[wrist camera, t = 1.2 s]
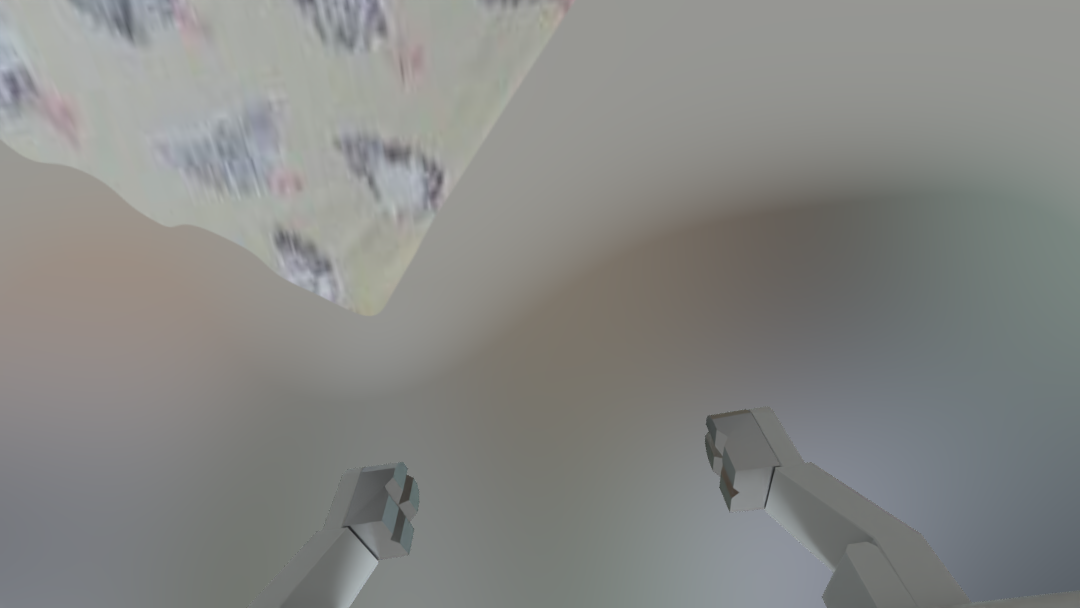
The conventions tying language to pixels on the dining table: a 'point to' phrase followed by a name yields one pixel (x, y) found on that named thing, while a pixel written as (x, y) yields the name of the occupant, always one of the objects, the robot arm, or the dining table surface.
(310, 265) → the dining table surface
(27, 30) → the dining table surface
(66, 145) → the dining table surface
